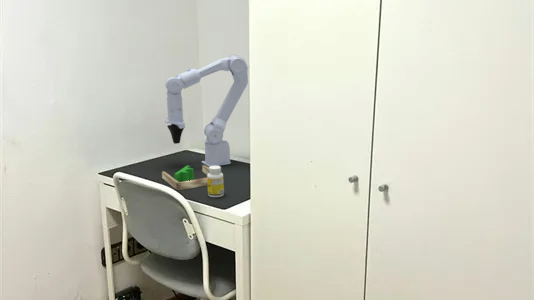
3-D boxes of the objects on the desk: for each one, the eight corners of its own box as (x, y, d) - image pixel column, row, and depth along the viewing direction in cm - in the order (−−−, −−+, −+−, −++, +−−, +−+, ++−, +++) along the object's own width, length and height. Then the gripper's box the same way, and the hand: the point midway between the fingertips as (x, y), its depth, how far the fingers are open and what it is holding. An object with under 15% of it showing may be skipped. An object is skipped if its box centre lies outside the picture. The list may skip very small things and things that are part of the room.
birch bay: (205, 171, 220) (204, 164, 220) (222, 182, 207) (222, 175, 206) (162, 178, 212) (161, 171, 212) (177, 190, 199) (177, 183, 198)
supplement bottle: (207, 192, 196) (207, 165, 194) (223, 192, 197) (223, 164, 194) (207, 198, 191) (206, 169, 189) (224, 197, 192) (223, 169, 189)
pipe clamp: (184, 187, 203) (184, 174, 202) (174, 186, 204) (174, 174, 203) (196, 177, 213) (196, 165, 212) (187, 177, 214) (186, 165, 213)
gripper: (158, 106, 226) (160, 140, 229) (171, 112, 214) (173, 148, 217) (175, 105, 229) (177, 138, 233) (189, 111, 217) (190, 146, 220)
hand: (176, 143), depth 225 cm, fingers closed
